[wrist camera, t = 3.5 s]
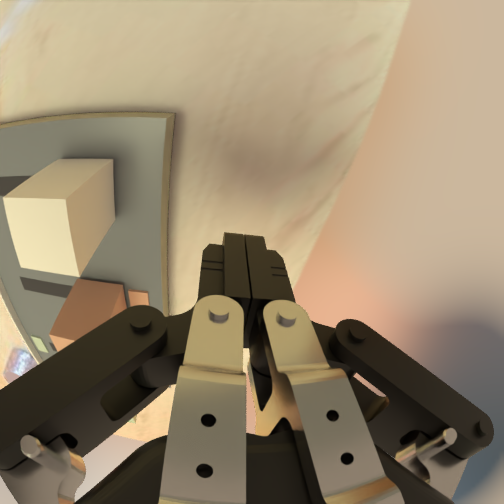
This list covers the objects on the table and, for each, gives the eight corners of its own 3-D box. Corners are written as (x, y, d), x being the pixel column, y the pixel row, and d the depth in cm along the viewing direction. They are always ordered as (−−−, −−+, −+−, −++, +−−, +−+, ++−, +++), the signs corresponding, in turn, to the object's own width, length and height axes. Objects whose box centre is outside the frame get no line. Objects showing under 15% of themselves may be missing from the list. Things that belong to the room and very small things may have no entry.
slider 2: (77, 278, 17) (48, 334, 12) (122, 284, 17) (100, 346, 13) (87, 313, 18) (67, 367, 14) (129, 320, 19) (114, 378, 15)
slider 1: (58, 158, 12) (2, 197, 8) (113, 159, 13) (65, 199, 8) (64, 215, 14) (20, 267, 10) (115, 219, 14) (79, 277, 10)
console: (-13, 127, 11) (-41, 139, 9) (175, 113, 14) (163, 120, 11) (48, 345, 25) (39, 366, 22) (172, 368, 28) (170, 394, 25)
